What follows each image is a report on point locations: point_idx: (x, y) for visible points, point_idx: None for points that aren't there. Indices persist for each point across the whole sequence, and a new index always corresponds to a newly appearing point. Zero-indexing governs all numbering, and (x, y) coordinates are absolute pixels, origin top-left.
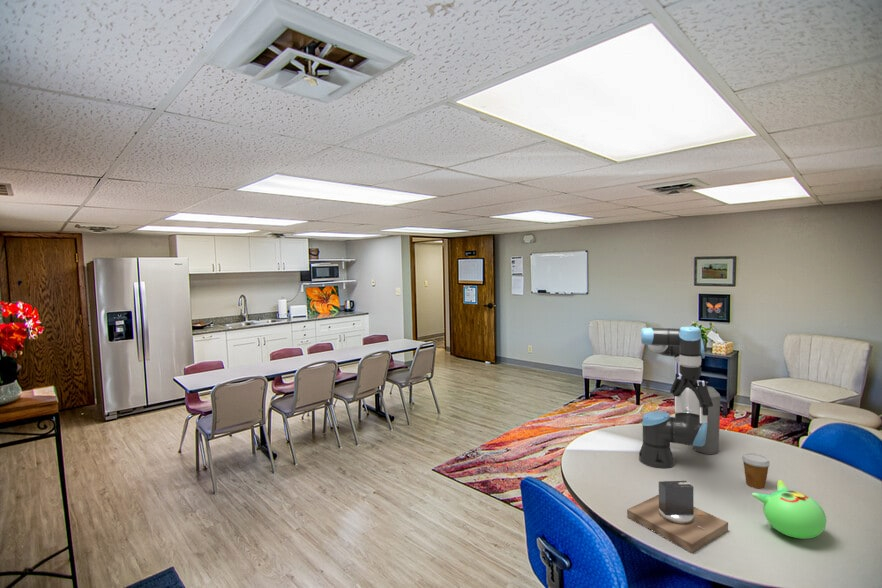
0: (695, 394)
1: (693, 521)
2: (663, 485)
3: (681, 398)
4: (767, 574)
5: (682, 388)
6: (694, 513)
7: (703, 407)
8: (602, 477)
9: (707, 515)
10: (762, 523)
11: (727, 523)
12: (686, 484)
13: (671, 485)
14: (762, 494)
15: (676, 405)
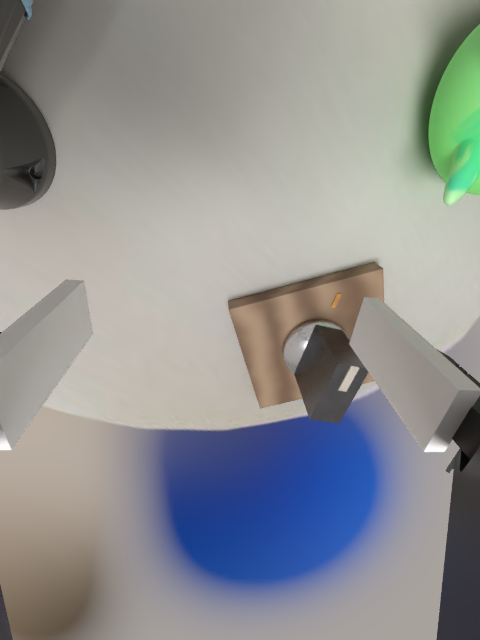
0: (441, 618)
1: (344, 331)
2: (329, 420)
3: (3, 360)
4: (474, 304)
5: (1, 635)
6: (325, 308)
7: (462, 435)
8: (97, 361)
9: (343, 288)
10: (401, 152)
11: (382, 270)
12: (353, 376)
13: (338, 406)
14: (472, 176)
15: (66, 368)
